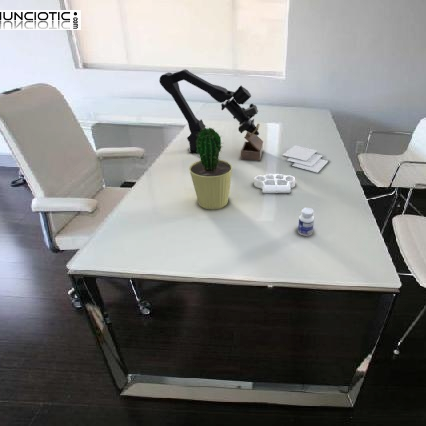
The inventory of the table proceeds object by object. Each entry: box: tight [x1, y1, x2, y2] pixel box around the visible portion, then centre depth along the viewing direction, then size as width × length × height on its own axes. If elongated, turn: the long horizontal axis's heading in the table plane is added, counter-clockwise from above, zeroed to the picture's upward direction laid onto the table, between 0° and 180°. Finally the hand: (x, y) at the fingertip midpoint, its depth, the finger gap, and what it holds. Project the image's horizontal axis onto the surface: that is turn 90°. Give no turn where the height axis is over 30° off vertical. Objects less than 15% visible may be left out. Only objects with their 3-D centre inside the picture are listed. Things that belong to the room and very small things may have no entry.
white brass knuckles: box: [253, 173, 296, 194], centre depth 137 cm, size 3×18×15 cm
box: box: [240, 141, 264, 162], centre depth 164 cm, size 10×14×5 cm
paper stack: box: [282, 145, 329, 173], centre depth 165 cm, size 23×25×1 cm
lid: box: [244, 123, 264, 152], centre depth 159 cm, size 10×14×7 cm
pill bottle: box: [297, 207, 315, 237], centre depth 109 cm, size 5×5×9 cm
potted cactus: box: [188, 125, 233, 210], centre depth 115 cm, size 15×15×30 cm
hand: (258, 134), depth 159 cm, fingers closed, pressing on lid
